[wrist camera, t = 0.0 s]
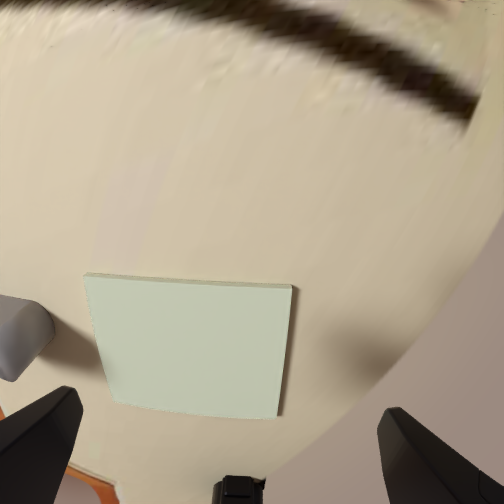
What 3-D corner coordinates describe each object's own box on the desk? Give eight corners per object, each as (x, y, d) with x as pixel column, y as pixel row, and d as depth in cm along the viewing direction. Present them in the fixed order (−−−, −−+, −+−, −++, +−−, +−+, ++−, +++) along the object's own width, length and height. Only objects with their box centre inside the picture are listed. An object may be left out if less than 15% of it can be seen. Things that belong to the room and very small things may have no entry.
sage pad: (275, 414, 23) (276, 419, 23) (115, 397, 23) (113, 402, 23) (291, 284, 20) (292, 288, 19) (87, 272, 20) (83, 276, 19)
